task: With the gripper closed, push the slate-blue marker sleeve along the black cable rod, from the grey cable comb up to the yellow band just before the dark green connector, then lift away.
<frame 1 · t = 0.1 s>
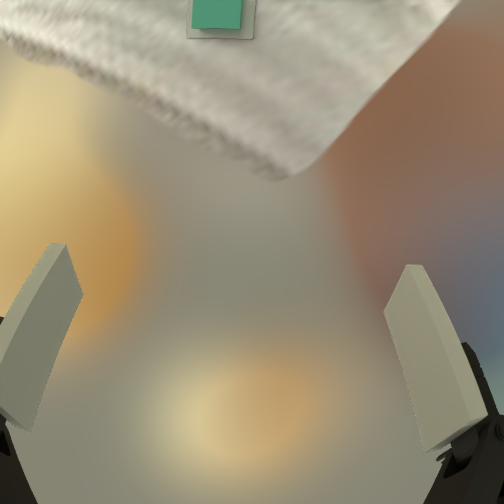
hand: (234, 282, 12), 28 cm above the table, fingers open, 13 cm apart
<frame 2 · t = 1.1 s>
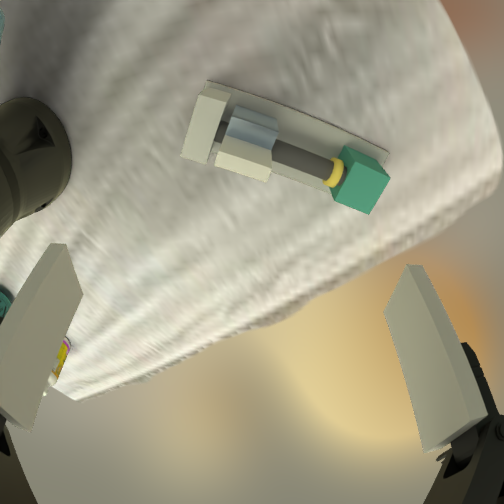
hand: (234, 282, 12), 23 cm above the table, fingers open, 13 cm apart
cable rail: (290, 143, 31), on the table
marker sleeve: (246, 147, 26), point 6 cm above the table, slide at 0.0 cm
supplement bottle: (58, 337, 56), on the table
beverage bottle: (4, 293, 49), on the table
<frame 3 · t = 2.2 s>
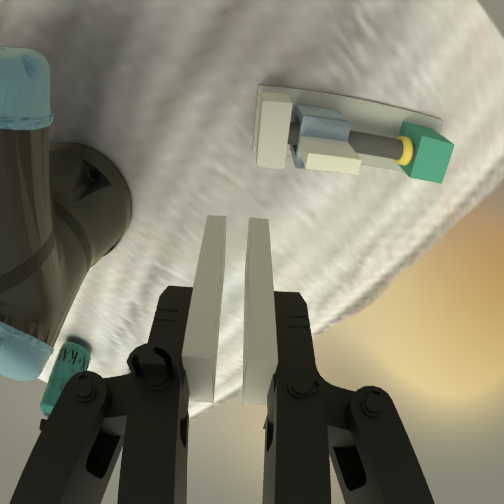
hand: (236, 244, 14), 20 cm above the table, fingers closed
cable rail: (353, 130, 30), on the table
marker sleeve: (322, 143, 25), point 6 cm above the table, slide at 0.0 cm
beverage bottle: (78, 343, 54), on the table
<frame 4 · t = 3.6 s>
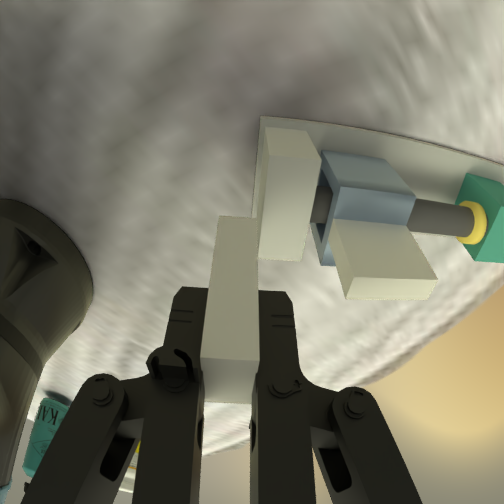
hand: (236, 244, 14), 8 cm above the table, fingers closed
cable rail: (399, 184, 20), on the table
marker sleeve: (366, 228, 15), point 6 cm above the table, slide at 0.0 cm
supplement bottle: (132, 427, 50), on the table
beverage bottle: (59, 398, 45), on the table
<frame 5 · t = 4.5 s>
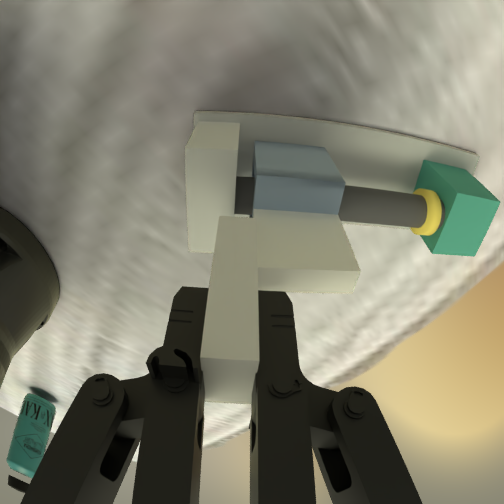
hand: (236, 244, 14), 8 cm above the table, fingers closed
cable rail: (348, 174, 20), on the table
marker sleeve: (294, 218, 15), point 6 cm above the table, slide at 0.1 cm, touching gripper
beverage bottle: (43, 393, 44), on the table
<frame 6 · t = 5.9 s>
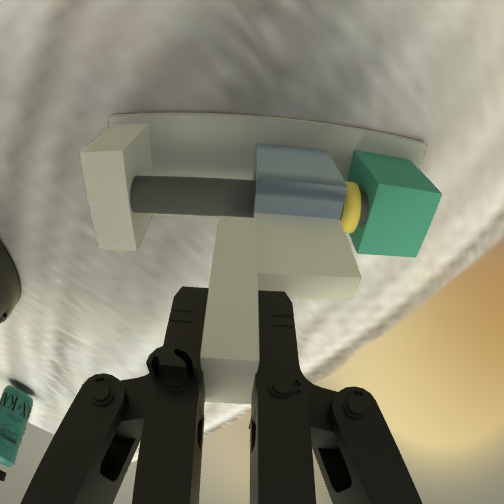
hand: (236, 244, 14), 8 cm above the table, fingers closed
cable rail: (268, 169, 20), on the table
marker sleeve: (295, 223, 15), point 6 cm above the table, slide at 5.5 cm, touching gripper
beverage bottle: (21, 386, 44), on the table
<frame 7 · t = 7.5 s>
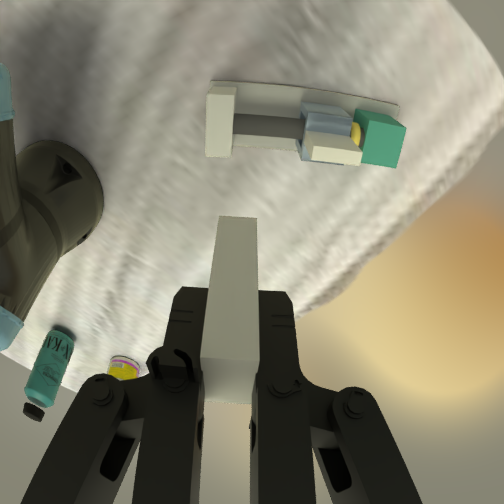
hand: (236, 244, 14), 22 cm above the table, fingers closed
cable rail: (305, 119, 31), on the table
marker sleeve: (326, 138, 27), point 6 cm above the table, slide at 5.5 cm
supplement bottle: (125, 363, 62), on the table
beverage bottle: (63, 332, 56), on the table
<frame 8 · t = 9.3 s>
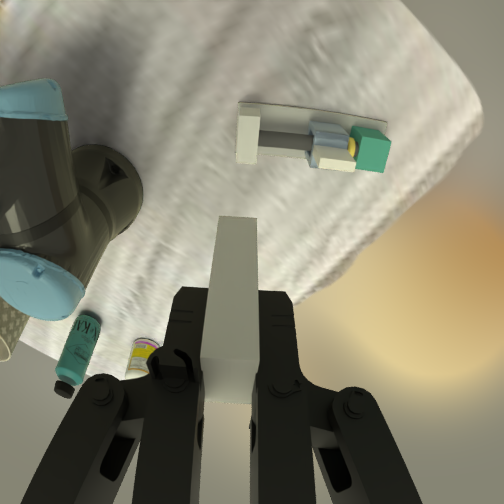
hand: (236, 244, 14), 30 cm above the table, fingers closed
cable rail: (312, 134, 40), on the table
marker sleeve: (329, 150, 36), point 6 cm above the table, slide at 5.5 cm
supplement bottle: (147, 345, 70), on the table
beverage bottle: (90, 317, 65), on the table
planter: (10, 268, 56), on the table
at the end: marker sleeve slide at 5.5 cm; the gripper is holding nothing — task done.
